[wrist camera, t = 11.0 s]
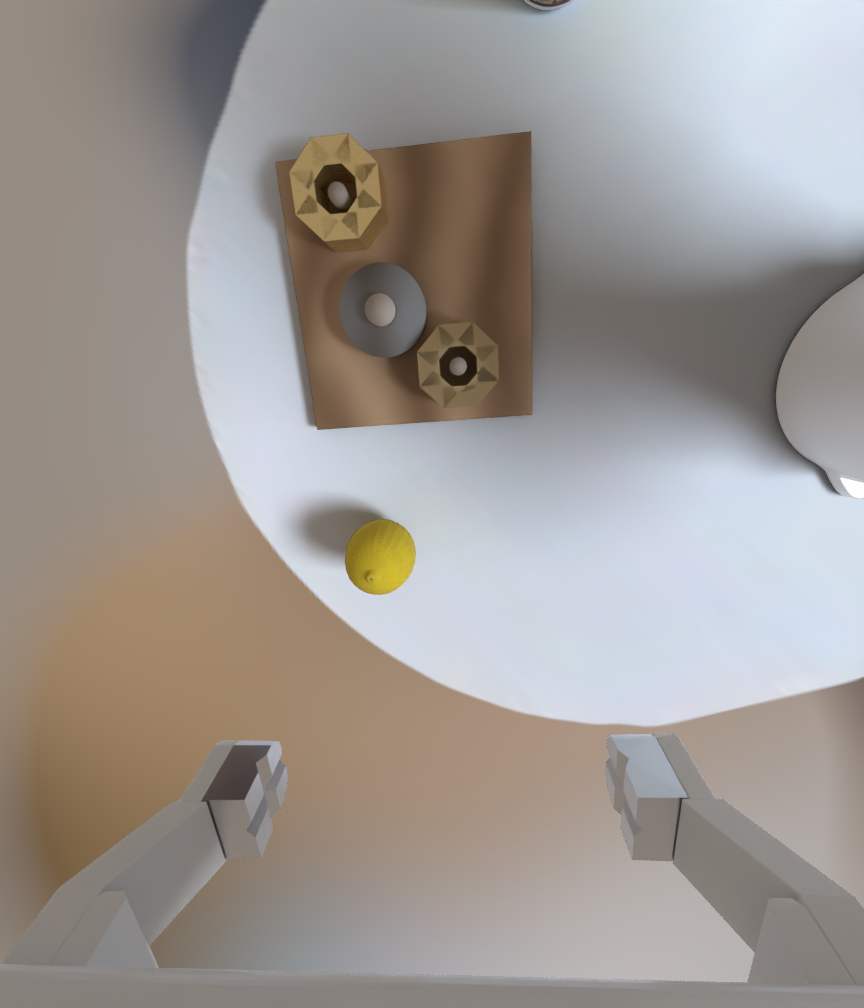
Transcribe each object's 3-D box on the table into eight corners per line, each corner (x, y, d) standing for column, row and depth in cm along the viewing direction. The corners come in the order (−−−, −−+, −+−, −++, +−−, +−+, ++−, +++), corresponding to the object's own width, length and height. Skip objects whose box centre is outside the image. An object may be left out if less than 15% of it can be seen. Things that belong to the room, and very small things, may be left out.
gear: (382, 153, 28) (374, 130, 26) (390, 247, 30) (384, 235, 27) (301, 162, 29) (284, 140, 26) (314, 254, 31) (299, 243, 28)
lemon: (347, 519, 38) (320, 558, 30) (405, 498, 37) (391, 533, 30) (372, 572, 40) (353, 622, 32) (428, 553, 39) (422, 600, 31)
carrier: (527, 140, 29) (539, 105, 25) (529, 412, 34) (539, 419, 30) (281, 169, 30) (255, 139, 26) (321, 427, 36) (304, 435, 32)
